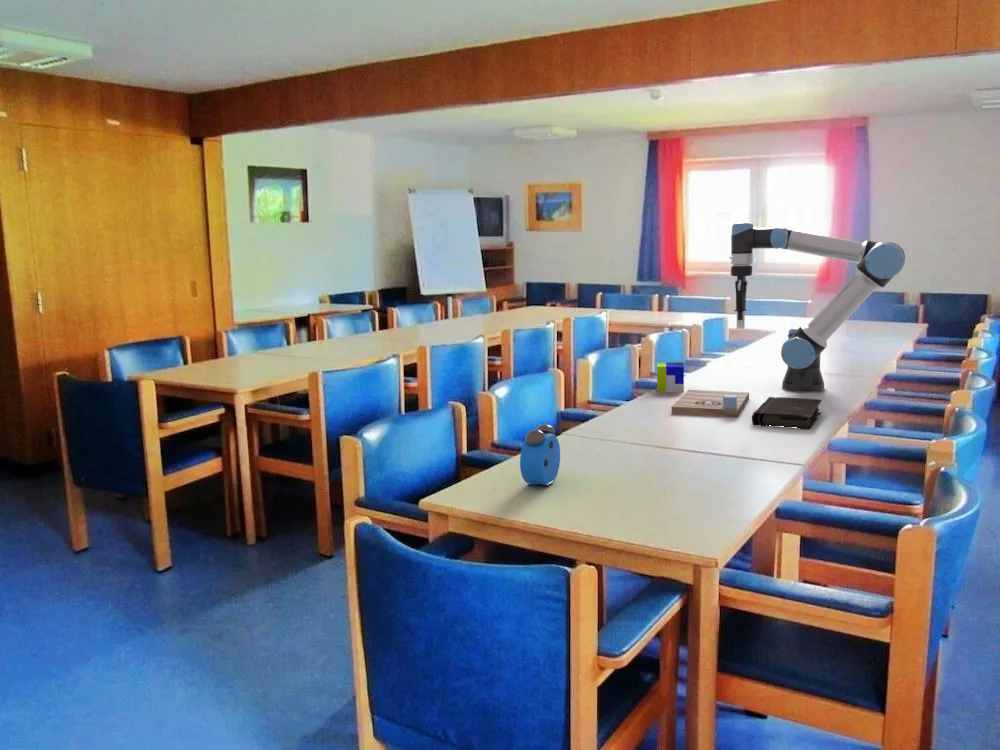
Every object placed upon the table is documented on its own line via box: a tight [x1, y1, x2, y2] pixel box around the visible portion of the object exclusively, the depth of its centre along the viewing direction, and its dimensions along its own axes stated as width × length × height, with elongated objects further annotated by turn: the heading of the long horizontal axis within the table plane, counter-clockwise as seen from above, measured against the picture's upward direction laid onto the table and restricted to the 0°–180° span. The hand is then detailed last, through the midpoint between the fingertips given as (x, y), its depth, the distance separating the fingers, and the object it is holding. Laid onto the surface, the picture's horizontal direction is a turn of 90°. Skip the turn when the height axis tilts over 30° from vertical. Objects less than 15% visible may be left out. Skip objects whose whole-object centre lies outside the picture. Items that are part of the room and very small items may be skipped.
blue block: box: [723, 395, 737, 409], centre depth 275 cm, size 4×4×4 cm
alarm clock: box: [519, 423, 561, 486], centre depth 208 cm, size 13×6×15 cm, turn 154°
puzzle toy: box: [656, 362, 685, 393], centre depth 320 cm, size 10×10×10 cm
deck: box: [671, 389, 750, 418], centre depth 290 cm, size 30×22×2 cm
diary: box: [751, 396, 822, 430], centre depth 267 cm, size 19×25×5 cm
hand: (740, 328), depth 307 cm, fingers closed
